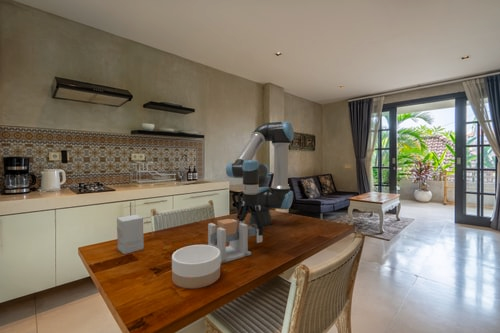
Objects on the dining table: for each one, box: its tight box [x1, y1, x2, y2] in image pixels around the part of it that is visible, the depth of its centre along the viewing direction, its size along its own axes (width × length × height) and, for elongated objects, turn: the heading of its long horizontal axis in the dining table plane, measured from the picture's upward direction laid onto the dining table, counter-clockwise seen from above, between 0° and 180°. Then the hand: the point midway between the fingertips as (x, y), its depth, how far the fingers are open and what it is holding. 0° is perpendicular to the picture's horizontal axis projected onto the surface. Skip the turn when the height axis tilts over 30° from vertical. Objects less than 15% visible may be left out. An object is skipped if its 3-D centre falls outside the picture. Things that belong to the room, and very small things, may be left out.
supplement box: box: [116, 214, 145, 255], centre depth 110 cm, size 9×9×15 cm
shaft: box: [210, 224, 258, 245], centre depth 107 cm, size 24×5×5 cm, turn 126°
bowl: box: [171, 244, 221, 289], centre depth 86 cm, size 17×17×8 cm
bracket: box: [207, 218, 252, 265], centre depth 104 cm, size 17×12×14 cm
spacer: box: [216, 218, 237, 235], centre depth 104 cm, size 6×6×5 cm
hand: (250, 237), depth 112 cm, fingers open, 13 cm apart
